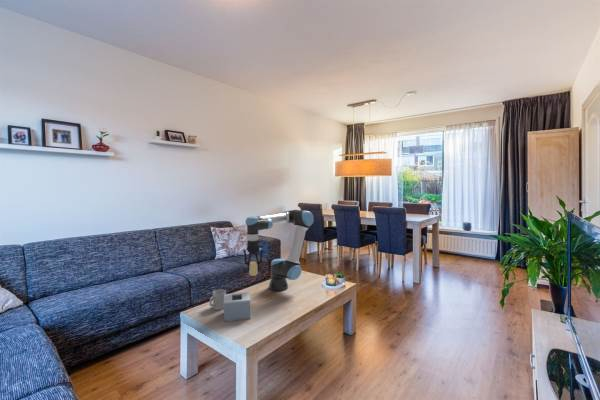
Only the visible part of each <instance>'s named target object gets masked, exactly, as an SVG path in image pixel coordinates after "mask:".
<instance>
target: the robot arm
mask: <svg viewBox="0 0 600 400" xmlns="http://www.w3.org/2000/svg"><path fill="white" fill-rule="evenodd" d="M314 222H315V221H314V215H313V213H312V212H311V211H308V210H306V209H305V210H302V209H291V210H285V211H282V212H280V213H274V214H266V215H258V216H248V217H246V219H245V226H246V235H247V236H246V237H247V238H246V241H247V242H246V243H247V246H246V248H244V249H243V250H242V251H243V256H244V257H243V258H244V265H246V267H247V270H249V271H248V273H249V274H248V275H249V276H251V269H250V262H251V257H252V255H255V259H256V264H257V275H258V274H259V273H258V271H259V269H260V264H262V263H263V251H264V249H263V248H261V247H259V246H260V245H259V231H263V230H264V231H265V230H269V229H272V228H273V225H276V224H282V223H283V224H294V225H293V226H294V228H295V229H294V232H293V237H292V241H291V244H290V245H291V246H290V248H289V252H288V257H287V258H274V259H272V260H271V262H270V272H271V273H270V274H271V275H270V281H269V284H268V289H269V290H270V291H273V292H274V291H275V292H282V291H286V290H287V289H289V284H288V281H287V280H291V281H296V280H298V279H299V278H300V276H301V273H302V267H301V262H300V257H301V254H302V253H301V252H302V248H303V244H304V240H305V236H306V232H307V231H308V230H309V227H311V226H312V225H313V224H314ZM247 252H248V259H247ZM258 252H259V257H258Z"/></svg>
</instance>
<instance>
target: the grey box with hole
mask: <svg viewBox="0 0 600 400" xmlns="http://www.w3.org/2000/svg"><path fill="white" fill-rule="evenodd" d="M251 311H252V309H251V294H250V292H249V291H248V292H235V293H226V294H224V309H223V322H232V321H242V320H244V321H245V320H251V319H252V317H251Z"/></svg>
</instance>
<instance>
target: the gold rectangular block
mask: <svg viewBox="0 0 600 400" xmlns="http://www.w3.org/2000/svg"><path fill="white" fill-rule="evenodd" d="M250 269H251V275H250V277H253V276H255V277H256V276H257V275H258V274H257V260H256V261H250Z"/></svg>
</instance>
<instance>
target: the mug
mask: <svg viewBox="0 0 600 400" xmlns="http://www.w3.org/2000/svg"><path fill="white" fill-rule="evenodd" d="M226 292H227V291H226V289H223V288H221V289H216V290H213V292H212V296H211V297H210V298H209V306H210V307H211V308H213V310H215V311H221V310H224V294H227V293H226Z"/></svg>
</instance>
